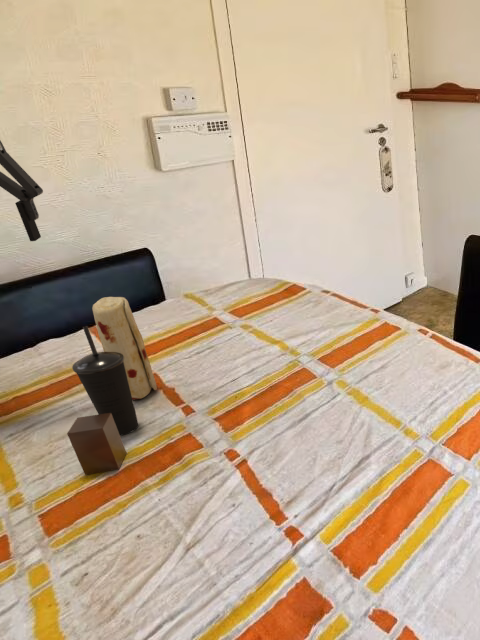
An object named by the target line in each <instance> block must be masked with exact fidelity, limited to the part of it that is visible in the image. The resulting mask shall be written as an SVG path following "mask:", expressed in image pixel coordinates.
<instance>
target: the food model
mask: <svg viewBox="0 0 480 640" xmlns="http://www.w3.org/2000/svg"><path fill="white" fill-rule="evenodd" d="M91 309H92V315H93V318H94V322H95V326H96V329H97V334H98V337H99V340H100V344H101V346H102V347H101V348H102V350H103V352H118V353H121V354H123V356H124V361H123V362H124V366H125V370H126V375H127V379H128V383H129V387H130V391H131V396H132V400H133V401H135V400H141V399H143V398H145V397H146V396H148V395H149V394H150V392H151V391H152V389H153V391H156V390H157V388H158V387H157V382H156V378H155V375H154V372H153V369H152V366H151V362H150V359H149V356H148V352H147V349H146V346H145V341H144V339H143V336H142V333H141V331H140V329H139V326H138V324H137V322H136V319H135V317H134V314H133V311H132V309H131V307H130V303H129V301H128V299H126V297H123V296H106V297H101V298H100V299H98V300H97V301H96V302H95V303H94V304H92V307H91Z"/></svg>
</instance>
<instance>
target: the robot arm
mask: <svg viewBox="0 0 480 640" xmlns="http://www.w3.org/2000/svg"><path fill="white" fill-rule="evenodd" d="M0 166H2V168H3V169H4V170H5V171H6V172H7V173H8V174H9V175H10V176H11V177H12V178H13V179H14V180H13V179H12V178H11V177H9V176H8V175H6V174H5V173H4V172H2V171H0V188H1V189H3V190H4V191H6V193H7V192H8V193H9V194H10V195H12V196H13V197H15V198H16V199H17V200H18V201H16V202H15V206H16V209H17V211H18V215H19V217H20V219H21V221H22V224H23V227H24V229H25V231H26V234H27V236H28V240H29V241H30V242H36V241H37V240H39V239H41V238H42V236H41V233H40V230H39V228H38V225H37V223H36V220H39V218H40V214H39V212H38V210H37V207H36V205H35V201H34V199H35V198H36V197H39V196H40V195H42V194H43V193H44V190H43V188H42V187H41V186H40V185H39V184H38V183H37V182H36V181H35V180H34V179H33V178H32V177H31V175H29V173H27V171H26V170H25V169H24V168H23V167H22V166H21V165H20V164H19V163H18V162H17V161H16V160H15V159H14V157H12V156H11V155H10V153H8V152H7V150H6V148H5V146H4V144H3V142H2V141H1V140H0Z"/></svg>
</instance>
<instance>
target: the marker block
mask: <svg viewBox="0 0 480 640" xmlns="http://www.w3.org/2000/svg"><path fill="white" fill-rule="evenodd" d="M66 435H67V437H68V440H69V441H70V444H71V446H72V448H73V450H74V453H75V455H76V458H77V459H78V462H79V464H80V467H81V469H82V471H83V473H84V475H85V476H87V475H88V476H89V475H93V474H98V473H99V474H100V473H105V472H111V471H117V470H120V468H121V466H122V463H123V461H124V459H125V457H126V455H127V451H126V448H125V445H124V442H123V441H122V440H123V439H122V437H121V435H119V432H118V429H117V427H116V424H115V422H114V419H113V416H112V414H111V413H106V414H93V415H85V416H81V417H80V416H79V417H77V418H76V419H75V420H74V422H73V423H72V425H71V427H70V428H69V429H68V431H67V433H66Z"/></svg>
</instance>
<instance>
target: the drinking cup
mask: <svg viewBox="0 0 480 640" xmlns="http://www.w3.org/2000/svg"><path fill="white" fill-rule="evenodd" d="M82 329H83V332H84V335H85V337H86V340H87V343H88V345H89V347H90V350H91V352H92V353H90V354H87V355H85V356H83V357H82V358H81V359H78V360H77V361H75V362H74V363H73V364H72V366H71V368H72V371H73V372H74V373H75V374H76V375H77V377H78V379H79V381H80V382H81V384H82V386H83V388H84V390H85V392H86V395H88V398H89V400H90V402H91V403H92V406H93V407H94V410H96V413H97V415H99V414H106V413H111V414H112V416H113V419H114V422H115V424H116V427H117V429H118V432H119V435H120V436H125V435H127V434H130V433H132V432H134V431H136V430H137V429H138V427H139V421H138V417H137V412H136V409H135V404H134V400H132V396H131V391H130V387H129V383H128V379H127V375H126V370H125V366H124V362H123V361H124V356H123V354H121V353H118V352H104V351H98V350H97V348H96V344H95V343H94V340H93V337H92V335H91V332H90V329H89V326H88V325H84V326H82Z"/></svg>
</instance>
